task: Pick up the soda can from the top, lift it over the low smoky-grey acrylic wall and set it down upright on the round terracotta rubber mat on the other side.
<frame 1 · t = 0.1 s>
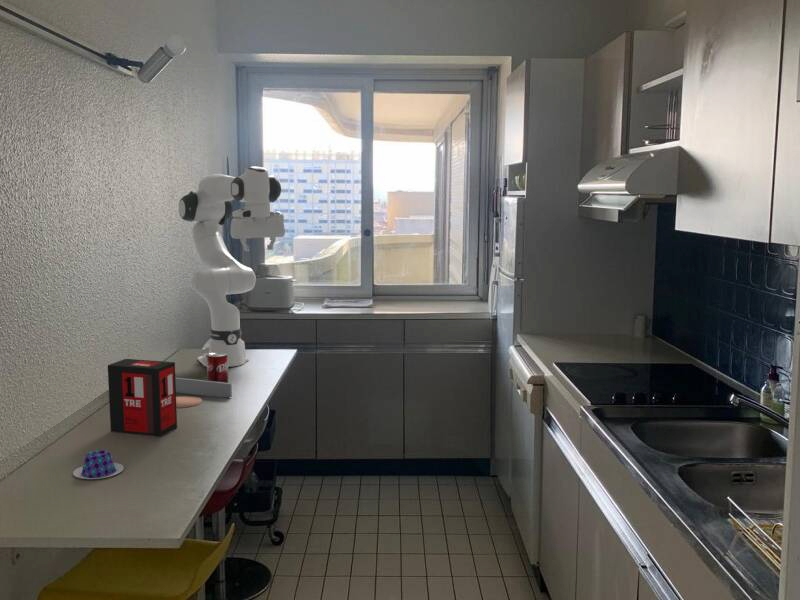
hand: (258, 250, 294), 48 cm above the table, tool pointing down, fingers open, 8 cm apart
soda can: (218, 387, 289), on the table
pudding: (98, 473, 205), on the table
acrylic wall: (200, 394, 279), on the table
cleaning product box: (144, 430, 239), on the table
terracotta mat: (181, 402, 269), on the table
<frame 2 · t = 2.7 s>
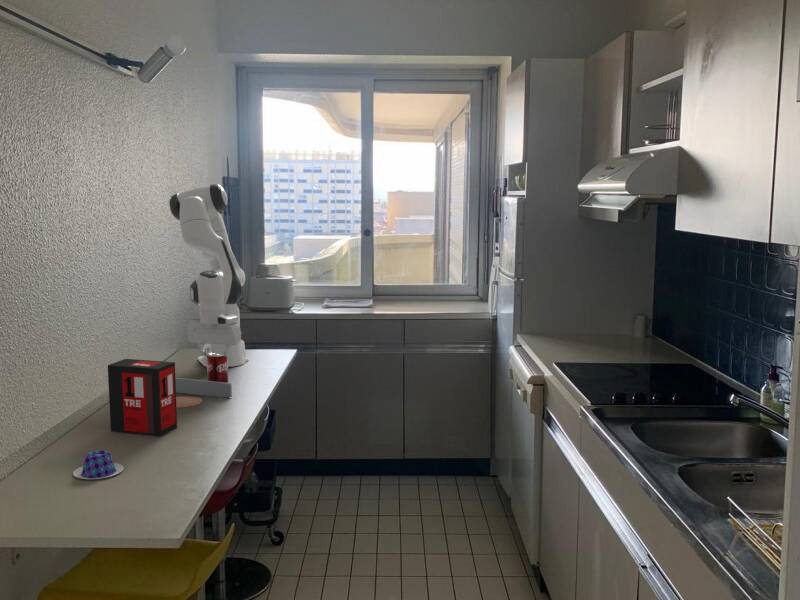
hand: (215, 356, 287), 11 cm above the table, tool pointing down, fingers open, 8 cm apart
soda can: (218, 387, 289), on the table, touching gripper
everything else where it was.
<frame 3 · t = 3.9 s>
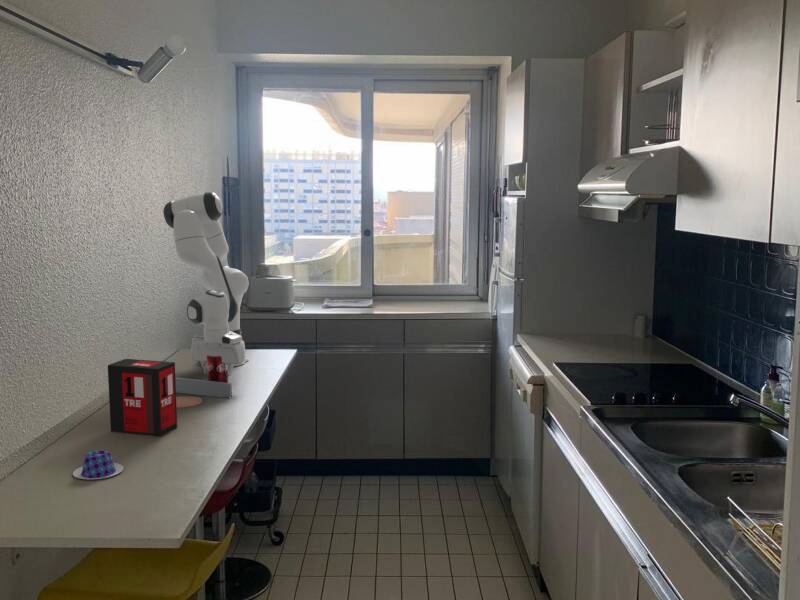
hand: (217, 374, 288), 5 cm above the table, tool pointing down, fingers closed on soda can, 7 cm apart
soda can: (218, 387, 289), on the table, touching gripper
everything else where it was.
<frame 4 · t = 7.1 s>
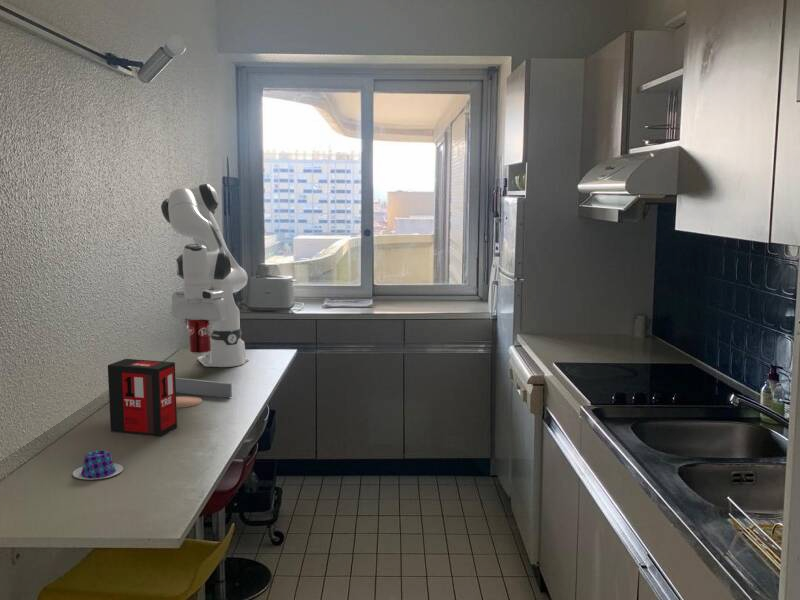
hand: (199, 332, 277), 21 cm above the table, tool pointing down, fingers closed on soda can, 7 cm apart
soda can: (200, 352, 278), point 14 cm above the table, touching gripper
everything else where it was.
when the fingers open (7 cm above the table, at t = 11.7 s): soda can stays where it is, resting on terracotta mat.
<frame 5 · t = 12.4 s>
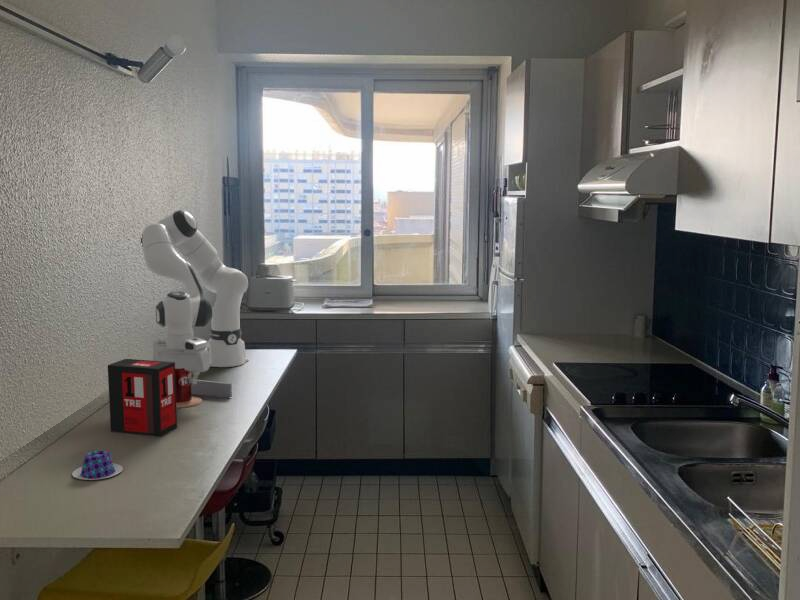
hand: (181, 382, 268), 7 cm above the table, tool pointing down, fingers open, 8 cm apart
soda can: (180, 401, 269), resting on terracotta mat, touching gripper
everything else where it was.
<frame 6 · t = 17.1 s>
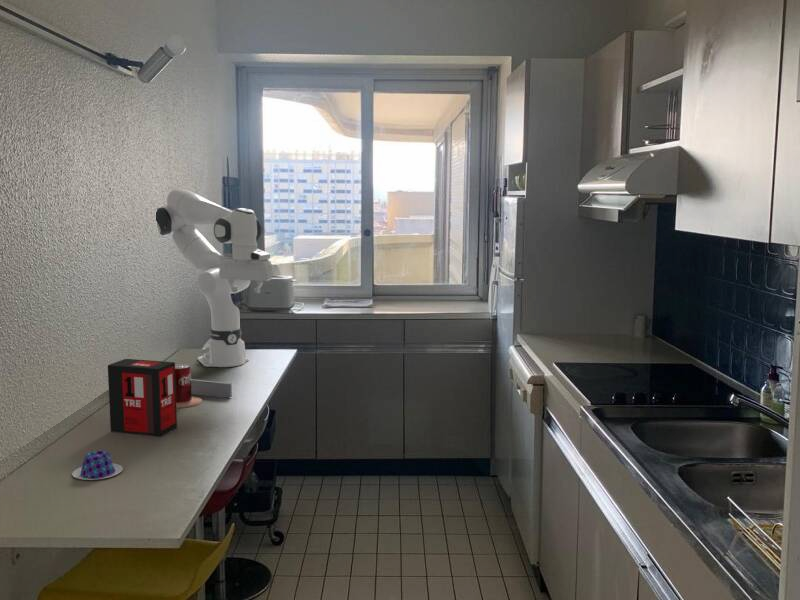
hand: (245, 292, 292), 33 cm above the table, tool pointing down, fingers open, 8 cm apart
soda can: (180, 402, 269), resting on terracotta mat
everything else where it was.
at the end: soda can 0.4 cm from the terracotta mat (horizontally); soda can tilted 0°; the gripper is holding nothing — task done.
